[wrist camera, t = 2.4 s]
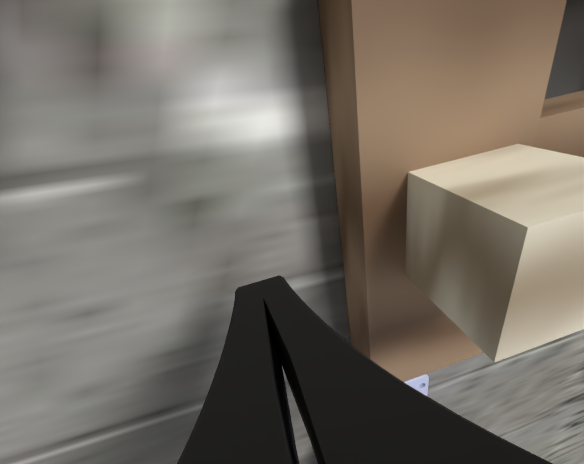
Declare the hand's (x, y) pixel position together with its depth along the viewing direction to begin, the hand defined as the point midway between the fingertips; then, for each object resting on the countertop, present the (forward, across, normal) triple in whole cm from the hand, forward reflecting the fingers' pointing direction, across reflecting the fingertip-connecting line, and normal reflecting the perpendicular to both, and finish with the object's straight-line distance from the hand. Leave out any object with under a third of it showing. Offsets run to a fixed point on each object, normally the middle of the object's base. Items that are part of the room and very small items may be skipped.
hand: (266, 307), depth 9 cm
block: (+2, -8, 0) cm, 8 cm away
